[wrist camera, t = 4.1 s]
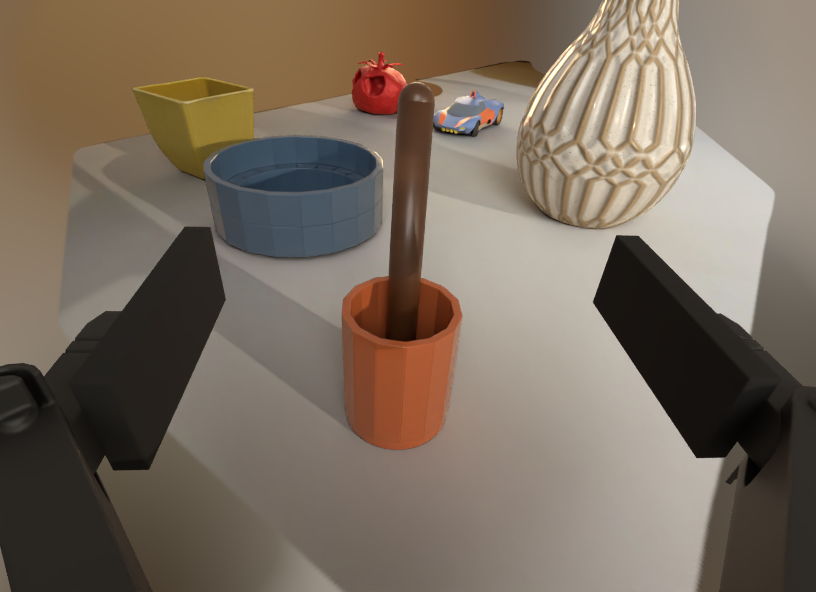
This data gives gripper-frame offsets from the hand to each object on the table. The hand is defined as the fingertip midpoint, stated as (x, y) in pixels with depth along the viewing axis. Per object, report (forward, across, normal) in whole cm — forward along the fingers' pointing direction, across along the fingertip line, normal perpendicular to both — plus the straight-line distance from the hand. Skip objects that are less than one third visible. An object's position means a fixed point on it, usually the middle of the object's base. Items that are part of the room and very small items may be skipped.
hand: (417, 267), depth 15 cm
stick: (+4, 0, -11) cm, 12 cm away
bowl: (+27, -8, -12) cm, 31 cm away
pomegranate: (+72, 0, -12) cm, 73 cm away
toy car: (+64, +14, -12) cm, 66 cm away
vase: (+31, +21, -12) cm, 40 cm away
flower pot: (+40, -20, -12) cm, 47 cm away
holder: (+4, 0, -12) cm, 13 cm away
